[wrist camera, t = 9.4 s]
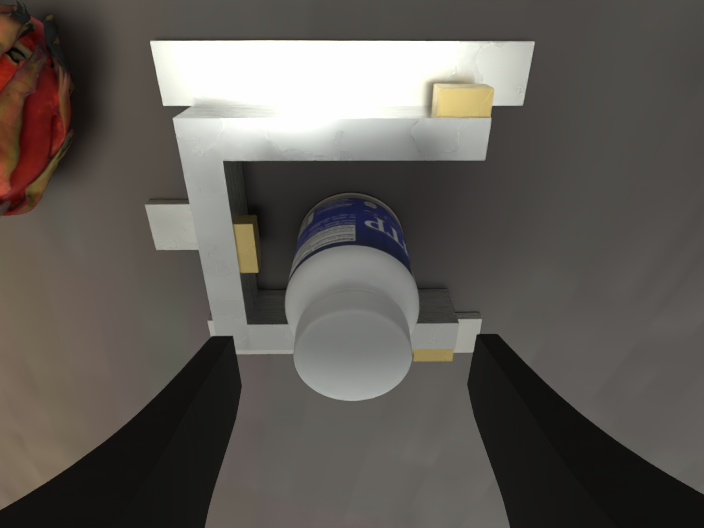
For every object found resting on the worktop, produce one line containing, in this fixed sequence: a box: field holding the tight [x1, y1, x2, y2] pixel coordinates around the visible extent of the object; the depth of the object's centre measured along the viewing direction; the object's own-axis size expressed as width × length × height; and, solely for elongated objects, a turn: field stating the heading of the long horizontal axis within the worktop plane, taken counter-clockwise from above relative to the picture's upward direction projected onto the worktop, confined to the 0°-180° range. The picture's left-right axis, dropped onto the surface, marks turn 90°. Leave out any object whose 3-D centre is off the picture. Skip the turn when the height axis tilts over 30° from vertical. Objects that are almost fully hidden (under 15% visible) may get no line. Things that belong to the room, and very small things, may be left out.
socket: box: [145, 40, 535, 361], centre depth 20 cm, size 17×16×3 cm
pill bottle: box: [285, 193, 419, 401], centre depth 18 cm, size 5×5×9 cm
